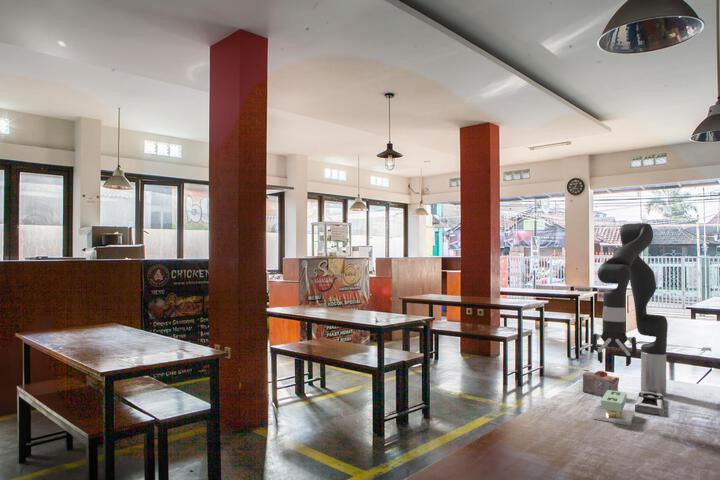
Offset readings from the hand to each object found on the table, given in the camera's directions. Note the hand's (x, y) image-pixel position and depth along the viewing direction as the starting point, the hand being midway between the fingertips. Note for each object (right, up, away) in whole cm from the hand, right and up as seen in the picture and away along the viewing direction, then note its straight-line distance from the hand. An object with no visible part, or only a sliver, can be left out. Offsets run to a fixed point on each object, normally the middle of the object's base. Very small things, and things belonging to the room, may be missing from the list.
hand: (614, 364), depth 179 cm
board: (0, -15, 0) cm, 15 cm away
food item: (+9, -20, +28) cm, 36 cm away
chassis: (0, -19, 0) cm, 19 cm away
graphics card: (+22, -20, +13) cm, 33 cm away
